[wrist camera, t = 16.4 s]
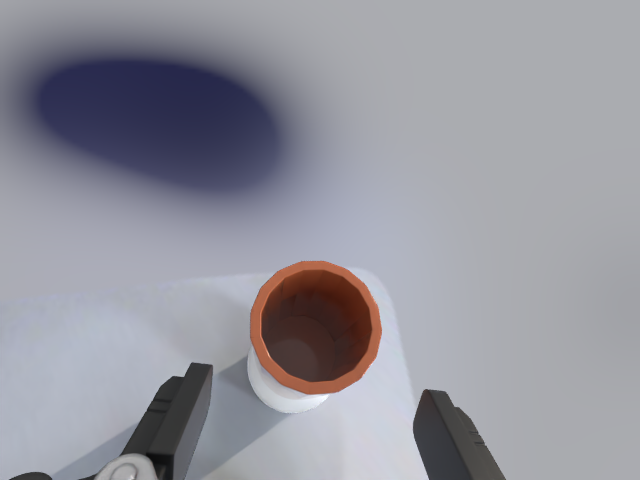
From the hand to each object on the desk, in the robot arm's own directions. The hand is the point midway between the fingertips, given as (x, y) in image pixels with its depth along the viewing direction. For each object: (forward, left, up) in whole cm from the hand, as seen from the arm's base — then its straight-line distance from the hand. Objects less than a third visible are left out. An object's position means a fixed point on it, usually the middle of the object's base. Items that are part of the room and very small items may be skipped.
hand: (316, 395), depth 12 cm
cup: (-2, +3, -12) cm, 12 cm away
